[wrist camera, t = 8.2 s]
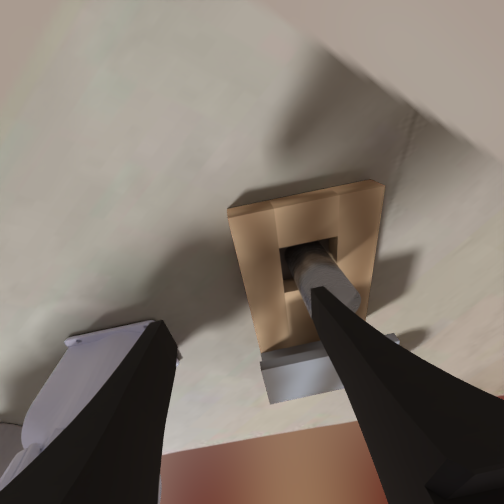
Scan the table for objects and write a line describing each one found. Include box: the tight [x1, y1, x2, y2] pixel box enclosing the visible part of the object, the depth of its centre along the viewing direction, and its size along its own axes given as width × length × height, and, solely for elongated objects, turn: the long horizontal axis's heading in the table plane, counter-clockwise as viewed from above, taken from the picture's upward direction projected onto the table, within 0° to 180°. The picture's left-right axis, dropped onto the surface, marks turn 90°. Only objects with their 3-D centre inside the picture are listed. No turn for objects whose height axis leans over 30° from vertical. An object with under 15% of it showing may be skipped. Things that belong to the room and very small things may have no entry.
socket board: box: [227, 179, 400, 404], centre depth 20 cm, size 12×18×7 cm, turn 10°
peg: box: [285, 240, 361, 319], centre depth 18 cm, size 4×4×7 cm
